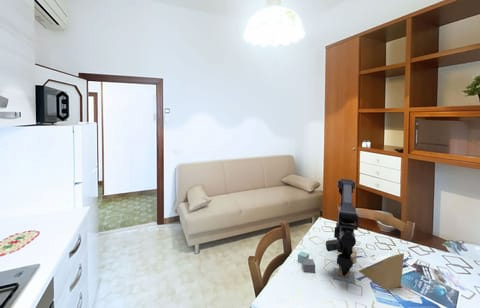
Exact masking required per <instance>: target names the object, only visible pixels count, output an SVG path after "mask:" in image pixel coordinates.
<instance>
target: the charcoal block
mask: <svg viewBox="0 0 480 308" xmlns="http://www.w3.org/2000/svg"><path fill="white" fill-rule="evenodd" d="M301 268H302V270H303V273H305V274H306V273H310V274H311V273H312V274H315V273H316V263H315V260H314V259H313V258H309V259H302V263H301Z"/></svg>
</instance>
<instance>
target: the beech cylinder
mask: <svg viewBox="0 0 480 308" xmlns="http://www.w3.org/2000/svg"><path fill="white" fill-rule="evenodd" d="M351 257H352V258H353V264H356V263H357V251H356V250H354V249H353V254H351Z"/></svg>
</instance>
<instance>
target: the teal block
mask: <svg viewBox="0 0 480 308" xmlns="http://www.w3.org/2000/svg"><path fill="white" fill-rule="evenodd" d="M302 259H310V253H308V252H305V251H303V250H302V251H300V252H299V253H297V263H300V264H302Z"/></svg>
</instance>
